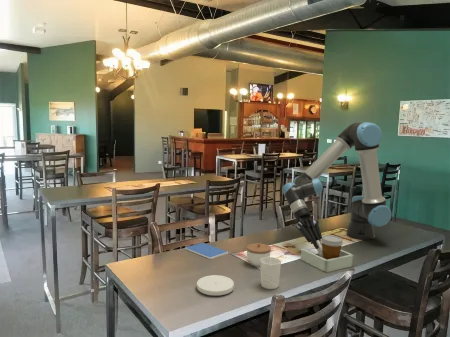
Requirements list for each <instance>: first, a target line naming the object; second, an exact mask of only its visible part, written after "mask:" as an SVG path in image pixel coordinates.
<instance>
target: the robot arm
mask: <svg viewBox="0 0 450 337" xmlns="http://www.w3.org/2000/svg"><path fill="white" fill-rule="evenodd" d="M382 138H383V132H382V129H381V128H380V126H379V125H377V124H376V123H373V122H366V121H365V122H364V121H363V122H354V123H351V124H349V125H348V126H347V127H346V128H344V130H342V132H340V133H339V134H338V136H336V138H335V141H334V142H333V143H332V144H331V145H330V146H329V147H327V149H326V150H325V151H324V152H323V153H321V155H320V156H319V157H318V158H317V159H316V160H314V162H313V163H312V164H311V165H310V166H309V167H308V168H307V169H306V170H305V171H304V172H302V174H300V175H298V176H296V177H295V178H294V179H293V181H292V182H291V181H290V182H287V183H285V184H284V185H283V186H282V189H281V191H282V194H283V196H284V198H285V200H286V202H287V204H288V205H289V207H290V209H291V212H292V214H293V217H294V218H295V220H296V221H297V223H296V225H295V228H296V229H298V230H299V232H300V233H301V234H302V235H303V237H304V238H305V240H306V241H307V242H308V243H310V245H313V248H314V249H315V250H317V253H318V256H320V257H323V255H322V242H321V239H322V237H323V235H322V232H321V229H320V226H319V220H314V218H313V217H311V215H312V213H311V212H310V210H309V208H308V206H307V203H305V201H304V199H306V198H309V197H312V196H314V195H317V194H320V193H321V192H323V189H324V188H323V184H322V182H321V180H320V177H321V176H322V175H323V173H325V172H326V171H327V170H328V168H330V167H331V166H332V165H333V164H334V163H335V162H336V161H337V160H338V159H339V158H340V157H341V156H342V155H343V154H344V153H345V152H346V151H347V150H351V149H352V148H353V147H354V151H356V153H358V158H359V166H360V173H361V182H362V189H363V195H354V196H352V198H351V208H350V222H349V225H348V226H347V229H346V235H347V236H348V237H349V238H352V239H355V240H357V239H358V240H362V241H363V240H365V241H367V240H368V241H369V240H374V239H375V237H376V233H375V228H374V226H375V227H384V226H386V225H387V224H388V223H389V222H390V220H391V218H392V210H391V209H390V207H389V206H387V201H386V200H387V199H386V198H385V197H384V196H383V193H382V186H381V178H380V169H379V163H378V160H379V159H378V153H377V150H379V149H380V142H381V140H383V139H382Z"/></svg>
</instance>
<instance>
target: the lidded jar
mask: <svg viewBox="0 0 450 337" xmlns="http://www.w3.org/2000/svg"><path fill="white" fill-rule="evenodd" d="M271 250H272V247H271V246H270V245H268V244H266V243H265V244H264V243H258V242H256V243H250V244H248V245H246V257H247V259H248V261H249V263H250V264H251V266H253V265H254V266H253V267H258V266H260V260H261V259H262V258H264V257H271V252H272V251H271Z"/></svg>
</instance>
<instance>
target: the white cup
mask: <svg viewBox="0 0 450 337" xmlns="http://www.w3.org/2000/svg"><path fill="white" fill-rule="evenodd" d="M281 267H282V260H281V259H279V258H277V257H273V256H270V257H264V258H262V259H261V260H260V270H259V271H260V285H261V287H262V288H263V289H266V290H267V289H268V290H274V289H275V290H277V288H279V286H280V277H281V276H280V275H281Z"/></svg>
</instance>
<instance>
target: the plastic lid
mask: <svg viewBox="0 0 450 337" xmlns="http://www.w3.org/2000/svg"><path fill="white" fill-rule="evenodd" d="M196 289H197V291H198V292H200V293H201V294H203V295H207V296H216V297H217V296H218V297H219V296H223V295H224V296H225V295H227V294H230V293H231V292H232V291H234V289H235V282H234V280H233V279H231V278H229V277H228V276H226V275H218V274H211V275H205V276H203V277H200V278H199V279H198V280H197V282H196Z"/></svg>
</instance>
